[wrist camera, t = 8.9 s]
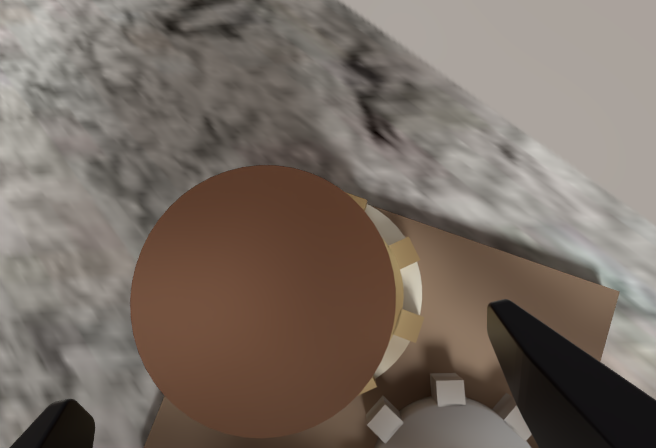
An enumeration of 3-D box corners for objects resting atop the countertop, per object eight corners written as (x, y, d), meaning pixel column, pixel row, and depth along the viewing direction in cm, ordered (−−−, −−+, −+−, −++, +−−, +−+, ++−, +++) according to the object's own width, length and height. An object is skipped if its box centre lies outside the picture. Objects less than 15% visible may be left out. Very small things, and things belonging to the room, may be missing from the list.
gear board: (508, 627, 18) (545, 707, 14) (146, 462, 20) (102, 498, 16) (604, 291, 20) (656, 291, 16) (262, 172, 22) (245, 150, 18)
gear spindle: (382, 424, 18) (434, 708, 6) (198, 349, 19) (-86, 455, 7) (446, 234, 19) (605, 135, 7) (269, 172, 20) (132, -10, 8)
